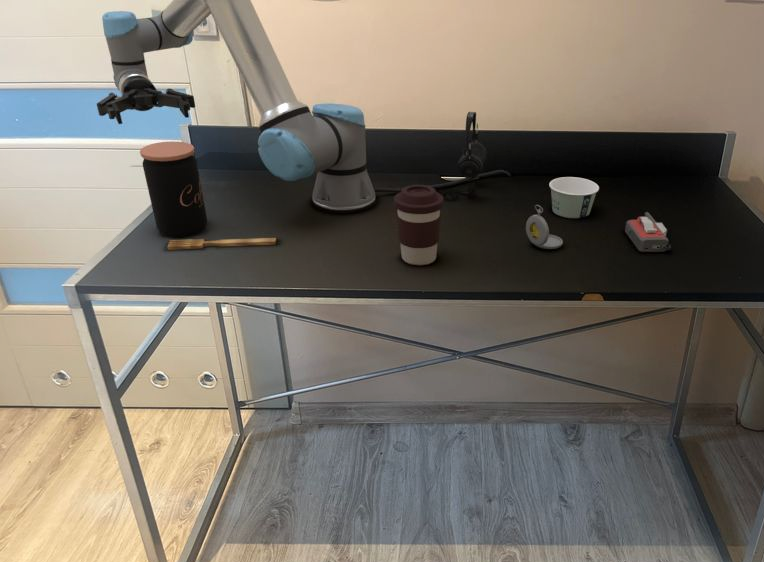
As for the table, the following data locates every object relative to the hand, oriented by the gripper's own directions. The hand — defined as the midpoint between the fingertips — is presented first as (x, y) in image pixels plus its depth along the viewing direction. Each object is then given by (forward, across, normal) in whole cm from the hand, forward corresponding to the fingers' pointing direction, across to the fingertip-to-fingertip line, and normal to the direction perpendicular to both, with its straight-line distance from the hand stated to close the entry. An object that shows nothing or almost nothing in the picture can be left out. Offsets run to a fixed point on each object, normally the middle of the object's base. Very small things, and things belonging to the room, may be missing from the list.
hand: (153, 114), depth 151 cm
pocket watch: (+52, -69, -22) cm, 89 cm away
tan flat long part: (+22, -6, -22) cm, 32 cm away
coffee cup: (+46, -41, -22) cm, 66 cm away
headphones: (+16, -68, -22) cm, 74 cm away
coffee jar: (+10, 0, -23) cm, 25 cm away
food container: (+38, -87, -22) cm, 97 cm away
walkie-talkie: (+58, -93, -22) cm, 112 cm away
